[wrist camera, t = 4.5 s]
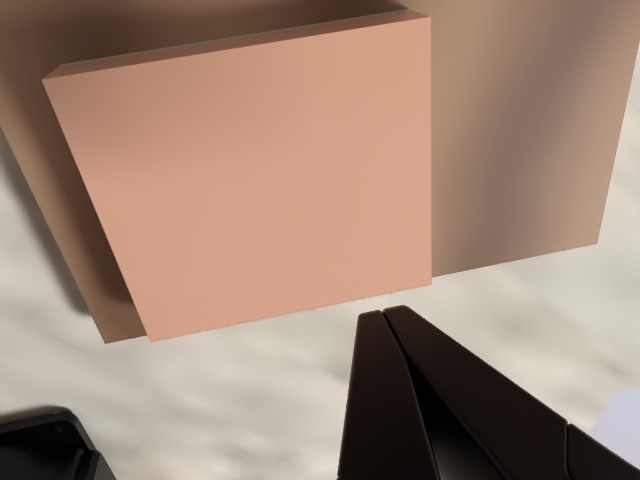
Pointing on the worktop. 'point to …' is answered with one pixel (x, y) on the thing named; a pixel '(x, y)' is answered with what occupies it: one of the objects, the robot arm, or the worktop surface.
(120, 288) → the board
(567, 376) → the worktop surface
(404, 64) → the tile
